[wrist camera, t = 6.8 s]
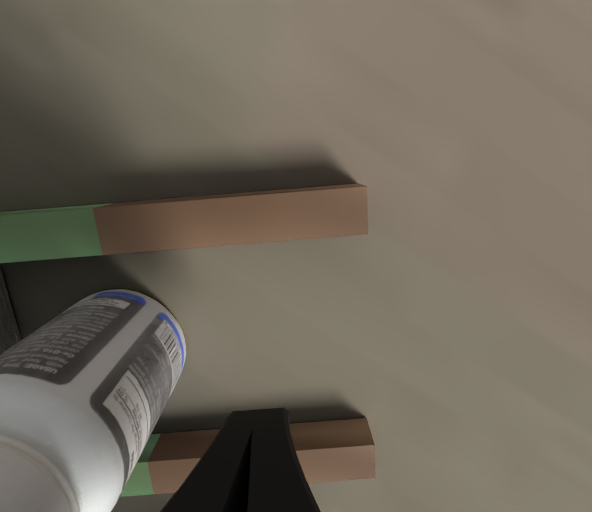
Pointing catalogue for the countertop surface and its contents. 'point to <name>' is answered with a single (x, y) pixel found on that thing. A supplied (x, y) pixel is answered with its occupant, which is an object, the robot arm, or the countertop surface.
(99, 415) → the pill bottle
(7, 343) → the small grey block
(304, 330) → the countertop surface
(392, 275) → the countertop surface
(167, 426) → the countertop surface
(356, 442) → the gauge rails
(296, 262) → the countertop surface
